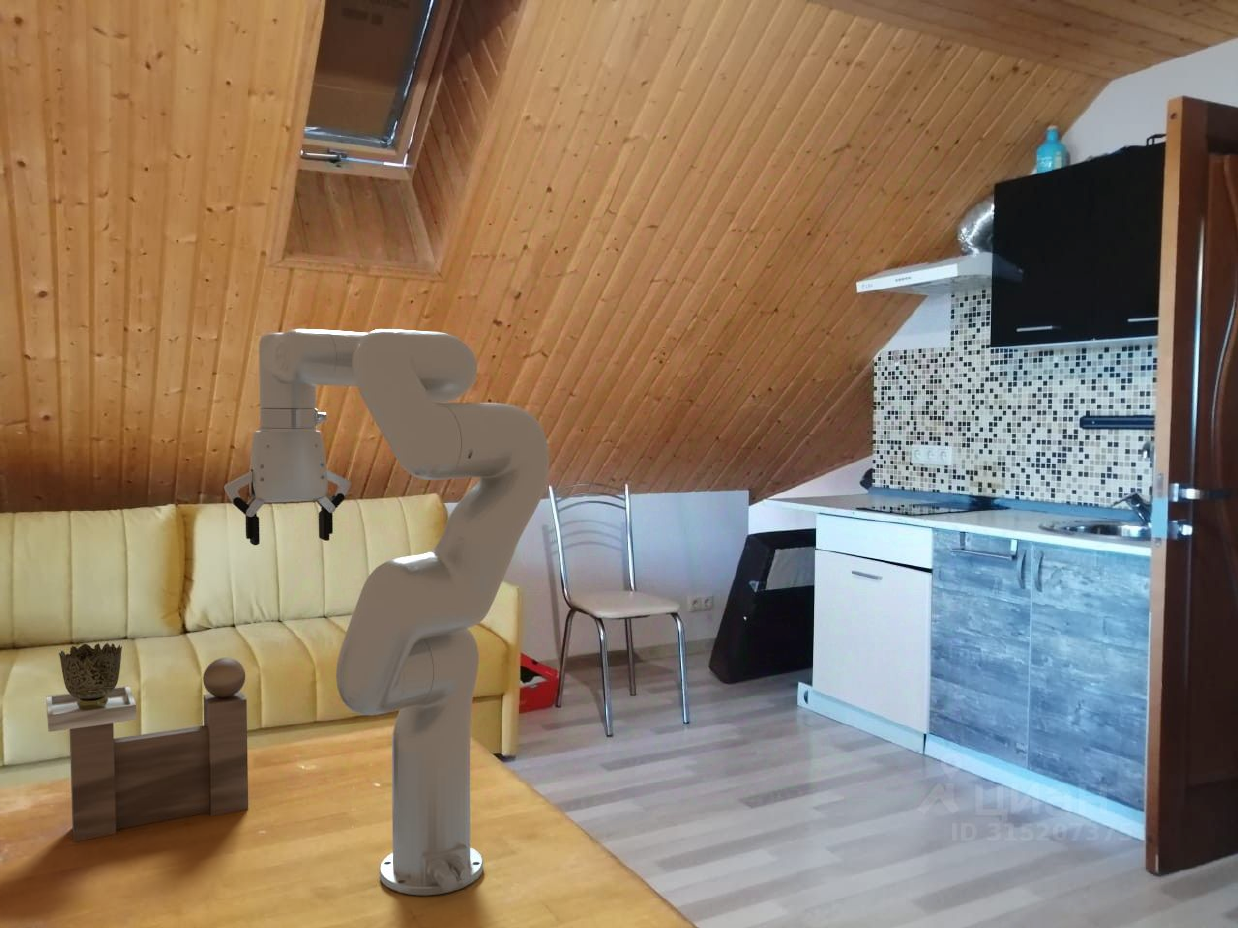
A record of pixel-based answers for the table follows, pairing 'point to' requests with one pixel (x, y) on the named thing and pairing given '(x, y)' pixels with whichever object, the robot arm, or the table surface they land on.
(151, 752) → the headboard
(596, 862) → the table surface
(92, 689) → the cup
